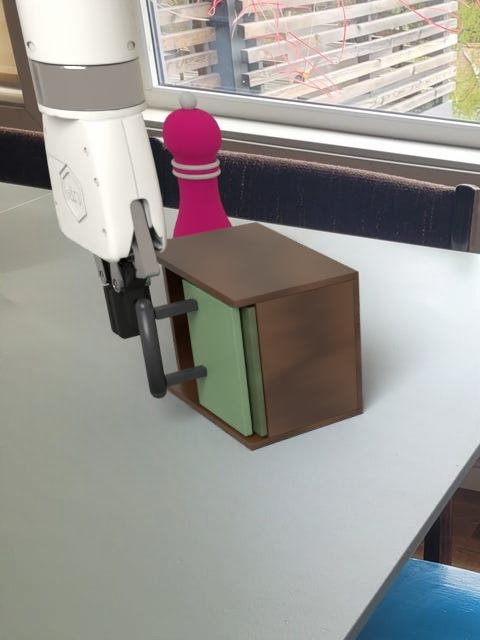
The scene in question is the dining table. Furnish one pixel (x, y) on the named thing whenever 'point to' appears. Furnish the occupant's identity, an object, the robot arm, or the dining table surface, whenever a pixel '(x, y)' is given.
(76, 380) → the dining table surface
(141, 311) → the closet door
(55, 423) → the dining table surface
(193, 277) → the cupboard
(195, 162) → the pepper mill
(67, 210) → the robot arm
